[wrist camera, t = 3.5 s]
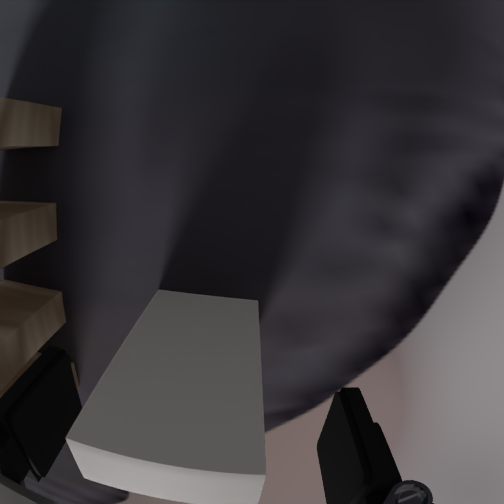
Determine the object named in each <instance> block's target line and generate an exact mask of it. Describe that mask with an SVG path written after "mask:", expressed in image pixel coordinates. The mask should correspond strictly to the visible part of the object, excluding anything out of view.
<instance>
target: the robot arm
mask: <svg viewBox="0 0 504 504" xmlns="http://www.w3.org/2000/svg"><path fill="white" fill-rule="evenodd" d="M81 410H82V406H81V402H80V399H79V395H78V391H77V387H76V383H75V379H74V375H73V371H72V367H71V362H70V358H69V356H68V355H67V354H66V352H65V350H63V349H59V348H56V347H52V346H50V347H48V348H47V349H46V350H45V351H44V352H43V353H42V354H41V355H40V356H39V357H38V358H37V359H36V360H35V361H34V362H33V364H32V365H31V366H30V367H29V368H28V369H27V370H26V371H25V372H24V373H23V374H22V375H21V376H20V377H19V378H18V379H17V380H16V381H15V382H14V384H13V385H12V386H11V387H10V388H9V389H8V390H7V391H6V392H5V393H4V394H3V396H2V397H1V398H0V504H59V503H57V502H55V501H52V500H50V499H48V498H46V497H44V496H42V495H40V494H37V493H35V492H33V491H31V490H29V489H27V488H26V487H25V483H24V478H25V477H26V476H27V477H29V478H31V479H33V480H35V481H37V482H39V481H40V479H41V477H45V476H46V475H47V473H48V471H49V470H50V468H51V466H52V464H53V463H54V461H55V459H56V457H57V456H58V454H59V452H60V451H61V449H62V447H63V445H64V444H65V442H66V436H67V434H68V432H69V431H70V429H71V427H72V425H73V424H74V422H75V420H76V419H77V417H78V415H79V413H80V412H81ZM317 453H318V458H319V464H320V469H321V474H322V480H323V486H324V491H325V497H326V503H327V504H434V503H432V502H433V497H432V493H431V491H430V489H429V488H428V487H427V486H426V485H424V484H422V483H421V482H418V481H414V480H406V481H402V479H401V476H400V473H399V471H398V468H397V466H396V463H395V461H394V458H393V456H392V453H391V451H390V448H389V446H388V444H387V441H386V439H385V437H384V434H383V432H382V429H381V427H380V425H379V424H378V423H377V422H376V423H374V422H373V421H372V418H371V415H370V413H369V410H368V408H367V405H366V403H365V401H364V398H363V396H362V393H361V391H360V389H359V388H357V387H356V388H342V389H341V390H340V392H336V393H335V395H334V398H333V401H332V404H331V406H330V410H329V412H328V415H327V418H326V421H325V424H324V426H323V429H322V432H321V434H320V437H319V440H318V443H317Z"/></svg>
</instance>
